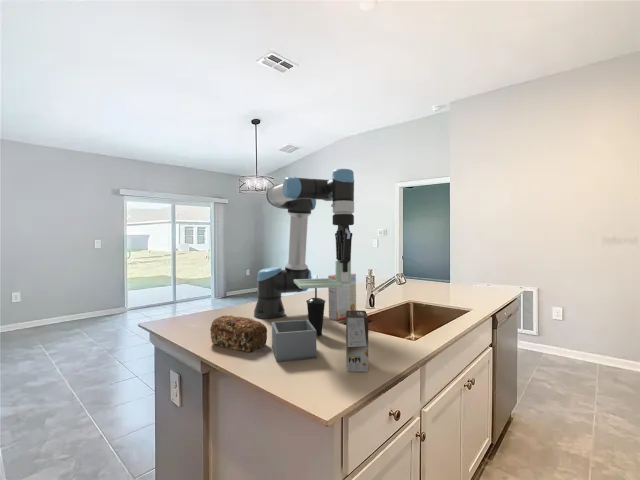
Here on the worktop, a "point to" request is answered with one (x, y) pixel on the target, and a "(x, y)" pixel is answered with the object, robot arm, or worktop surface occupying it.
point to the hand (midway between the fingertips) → (343, 280)
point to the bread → (238, 333)
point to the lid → (324, 280)
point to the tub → (293, 340)
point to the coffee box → (357, 341)
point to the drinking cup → (316, 313)
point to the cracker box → (342, 299)
